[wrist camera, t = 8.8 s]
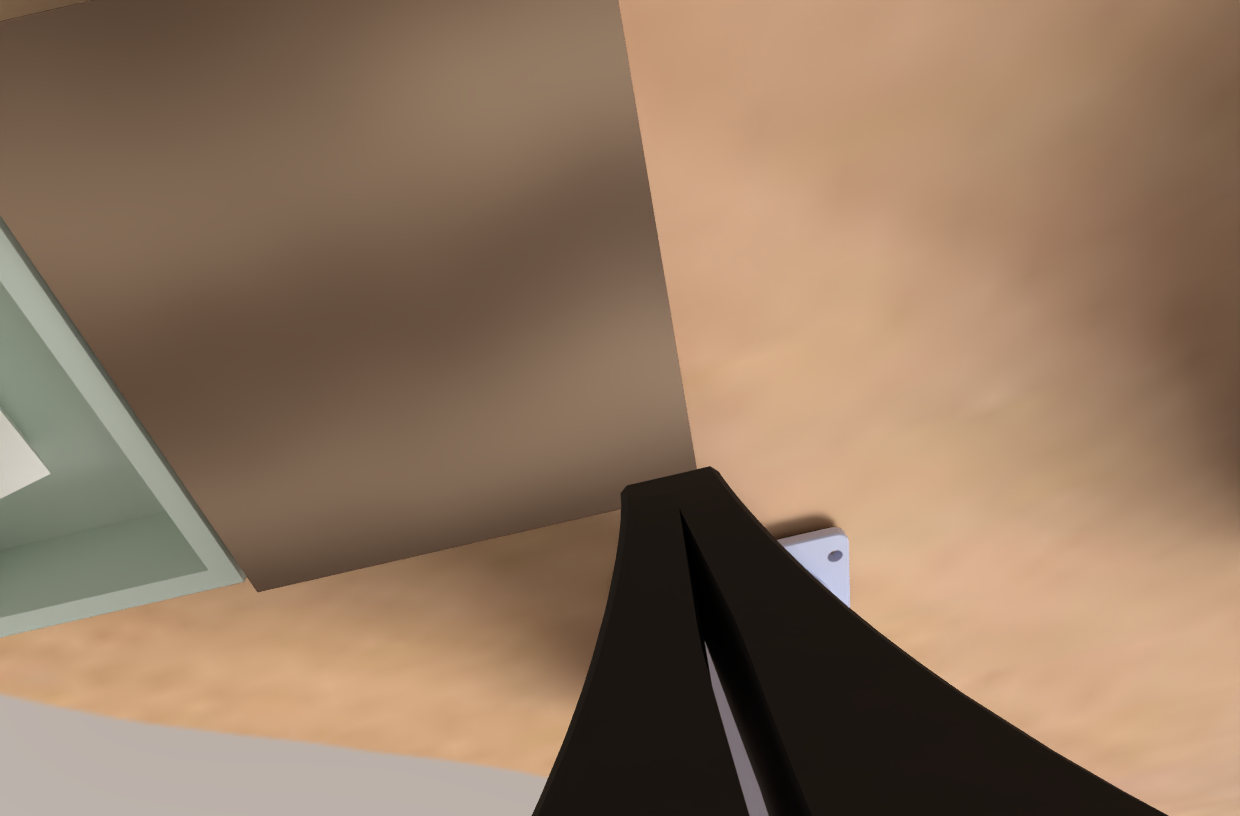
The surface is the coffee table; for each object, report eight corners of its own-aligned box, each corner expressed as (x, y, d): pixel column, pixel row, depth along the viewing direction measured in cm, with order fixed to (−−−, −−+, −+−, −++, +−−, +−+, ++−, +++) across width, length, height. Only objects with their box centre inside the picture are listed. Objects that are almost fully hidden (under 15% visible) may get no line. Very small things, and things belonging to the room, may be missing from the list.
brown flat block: (670, 405, 20) (700, 490, 17) (301, 489, 20) (257, 592, 17) (579, -94, 14) (598, -116, 11) (39, 30, 14) (-115, 47, 11)
